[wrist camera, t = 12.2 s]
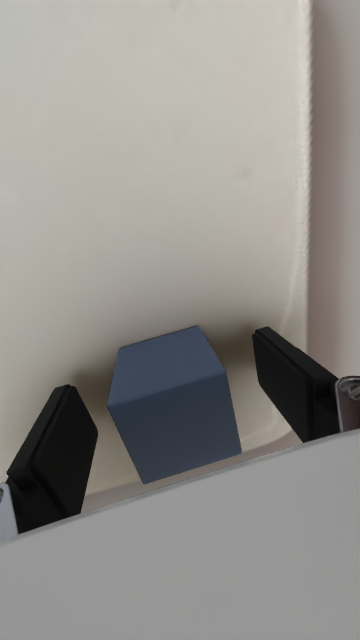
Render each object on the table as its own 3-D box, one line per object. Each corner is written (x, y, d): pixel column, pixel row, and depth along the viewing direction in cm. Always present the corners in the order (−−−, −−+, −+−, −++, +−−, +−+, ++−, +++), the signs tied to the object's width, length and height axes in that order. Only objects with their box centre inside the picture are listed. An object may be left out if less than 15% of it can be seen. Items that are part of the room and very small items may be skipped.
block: (213, 389, 13) (243, 454, 9) (143, 410, 12) (143, 486, 9) (199, 324, 11) (226, 370, 7) (118, 347, 11) (105, 406, 7)
